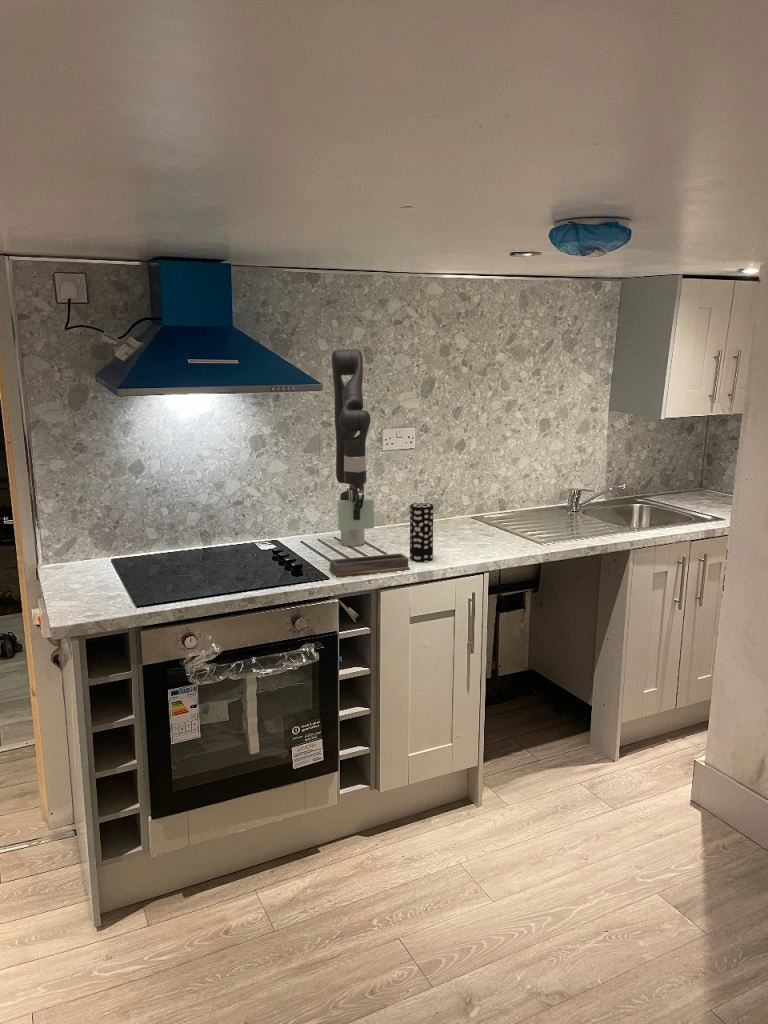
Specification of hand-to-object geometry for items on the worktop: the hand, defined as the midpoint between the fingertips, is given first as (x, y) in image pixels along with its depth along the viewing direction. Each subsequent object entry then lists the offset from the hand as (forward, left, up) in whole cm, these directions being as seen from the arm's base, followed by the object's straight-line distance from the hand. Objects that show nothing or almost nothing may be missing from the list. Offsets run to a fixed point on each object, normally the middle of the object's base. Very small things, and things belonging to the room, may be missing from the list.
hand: (355, 518), depth 268 cm
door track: (+4, +4, -18) cm, 18 cm away
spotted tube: (-3, +26, -18) cm, 31 cm away
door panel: (0, 0, -3) cm, 3 cm away
